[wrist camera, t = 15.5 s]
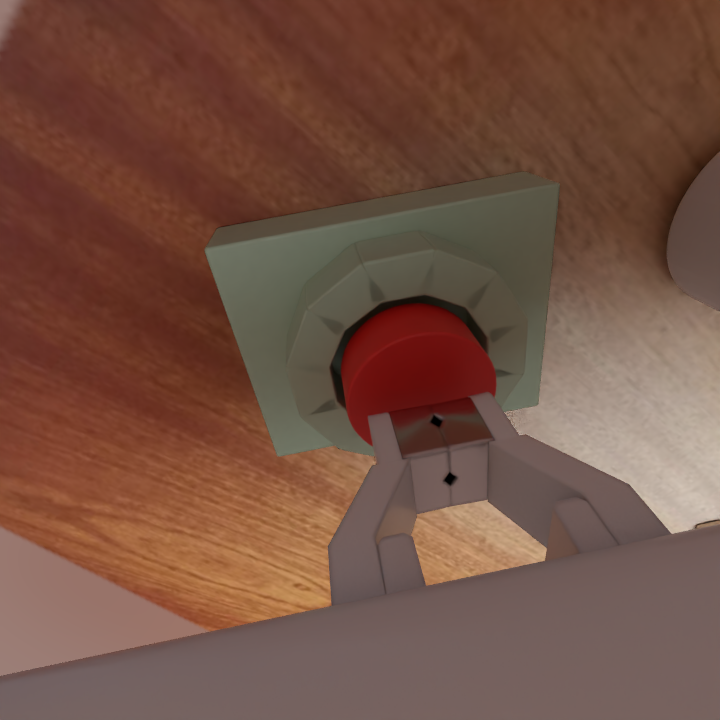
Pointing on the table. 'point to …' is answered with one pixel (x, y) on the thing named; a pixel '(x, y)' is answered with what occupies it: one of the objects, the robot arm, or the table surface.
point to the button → (411, 363)
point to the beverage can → (698, 238)
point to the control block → (385, 292)
